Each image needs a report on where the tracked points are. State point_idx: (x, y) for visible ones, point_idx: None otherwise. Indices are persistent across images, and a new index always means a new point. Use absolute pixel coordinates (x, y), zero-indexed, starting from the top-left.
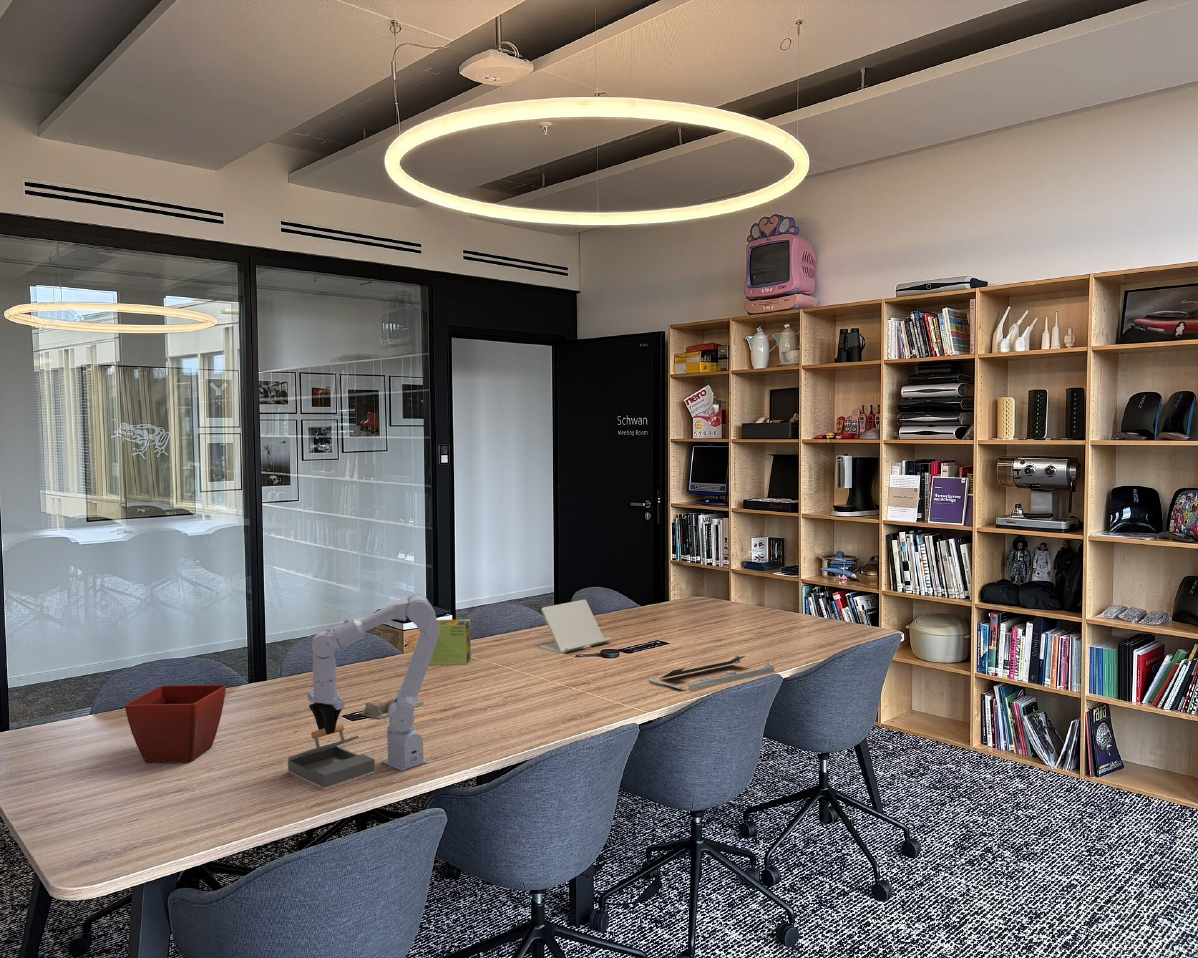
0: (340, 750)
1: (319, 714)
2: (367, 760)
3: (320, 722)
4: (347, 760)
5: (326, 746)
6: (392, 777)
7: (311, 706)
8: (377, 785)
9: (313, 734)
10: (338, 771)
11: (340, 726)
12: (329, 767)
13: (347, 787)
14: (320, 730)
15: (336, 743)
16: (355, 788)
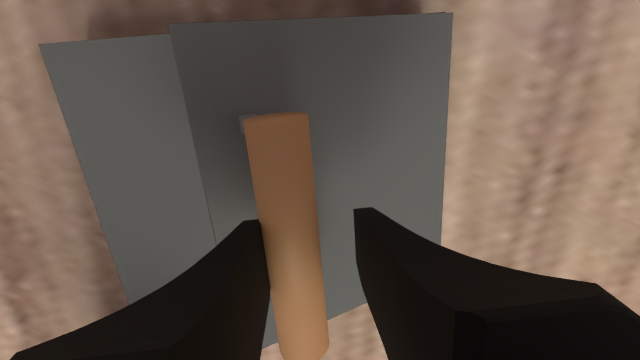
0: None
1: (398, 303)
2: (132, 281)
3: (373, 252)
4: (190, 221)
5: (199, 162)
6: (69, 293)
7: (508, 313)
8: (14, 226)
9: (270, 120)
10: (71, 130)
11: (281, 339)
12: (148, 117)
13: (59, 132)
14: (269, 192)
15: (212, 229)
16: (28, 151)
